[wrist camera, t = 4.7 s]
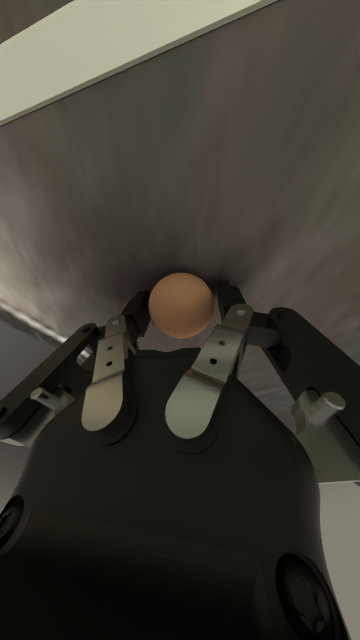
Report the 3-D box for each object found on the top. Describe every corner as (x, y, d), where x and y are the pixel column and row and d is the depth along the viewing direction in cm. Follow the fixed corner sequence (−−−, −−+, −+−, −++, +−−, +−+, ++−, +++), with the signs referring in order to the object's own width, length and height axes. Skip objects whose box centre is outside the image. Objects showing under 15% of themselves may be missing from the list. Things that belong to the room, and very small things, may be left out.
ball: (210, 258, 11) (216, 288, 7) (212, 310, 14) (217, 350, 10) (149, 267, 12) (127, 298, 8) (164, 314, 15) (152, 353, 11)
